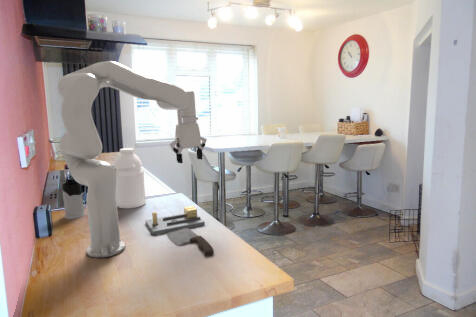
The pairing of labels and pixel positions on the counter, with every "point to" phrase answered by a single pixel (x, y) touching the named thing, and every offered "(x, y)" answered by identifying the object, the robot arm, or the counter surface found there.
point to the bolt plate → (172, 223)
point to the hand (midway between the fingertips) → (190, 160)
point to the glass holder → (73, 200)
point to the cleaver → (190, 239)
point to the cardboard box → (190, 212)
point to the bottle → (129, 180)
